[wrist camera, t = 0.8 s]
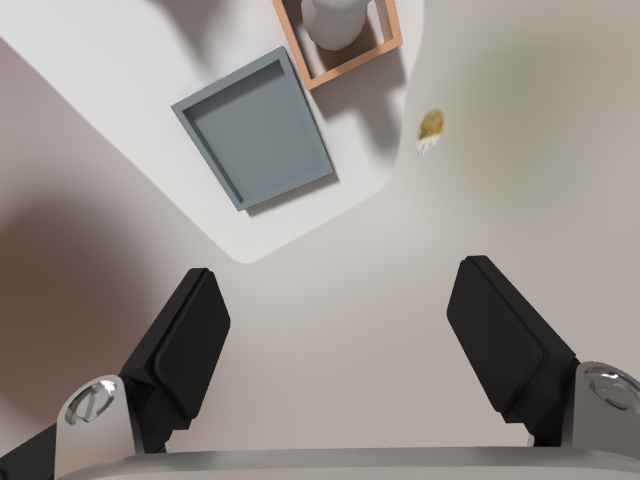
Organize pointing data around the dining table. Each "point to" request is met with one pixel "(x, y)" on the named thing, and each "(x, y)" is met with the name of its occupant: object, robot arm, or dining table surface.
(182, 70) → the dining table surface
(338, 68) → the open box
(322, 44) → the salt shaker
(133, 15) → the dining table surface
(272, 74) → the tray
